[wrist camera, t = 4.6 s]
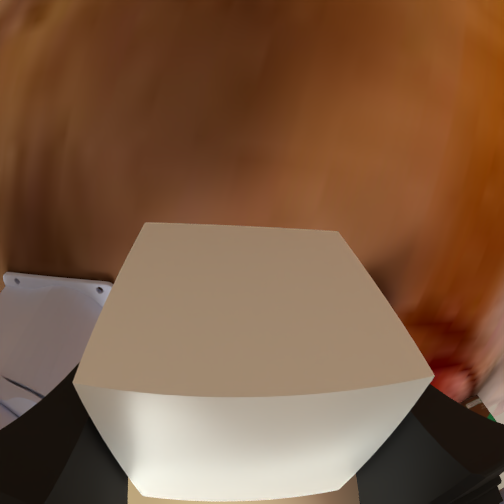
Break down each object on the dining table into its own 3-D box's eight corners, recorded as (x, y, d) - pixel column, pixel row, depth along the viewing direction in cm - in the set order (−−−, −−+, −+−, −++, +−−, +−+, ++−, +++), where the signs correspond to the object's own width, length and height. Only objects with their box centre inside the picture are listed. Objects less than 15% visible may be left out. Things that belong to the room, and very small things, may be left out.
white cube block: (159, 359, 13) (142, 496, 7) (145, 222, 10) (72, 382, 4) (303, 361, 13) (338, 489, 8) (337, 231, 10) (434, 375, 5)
